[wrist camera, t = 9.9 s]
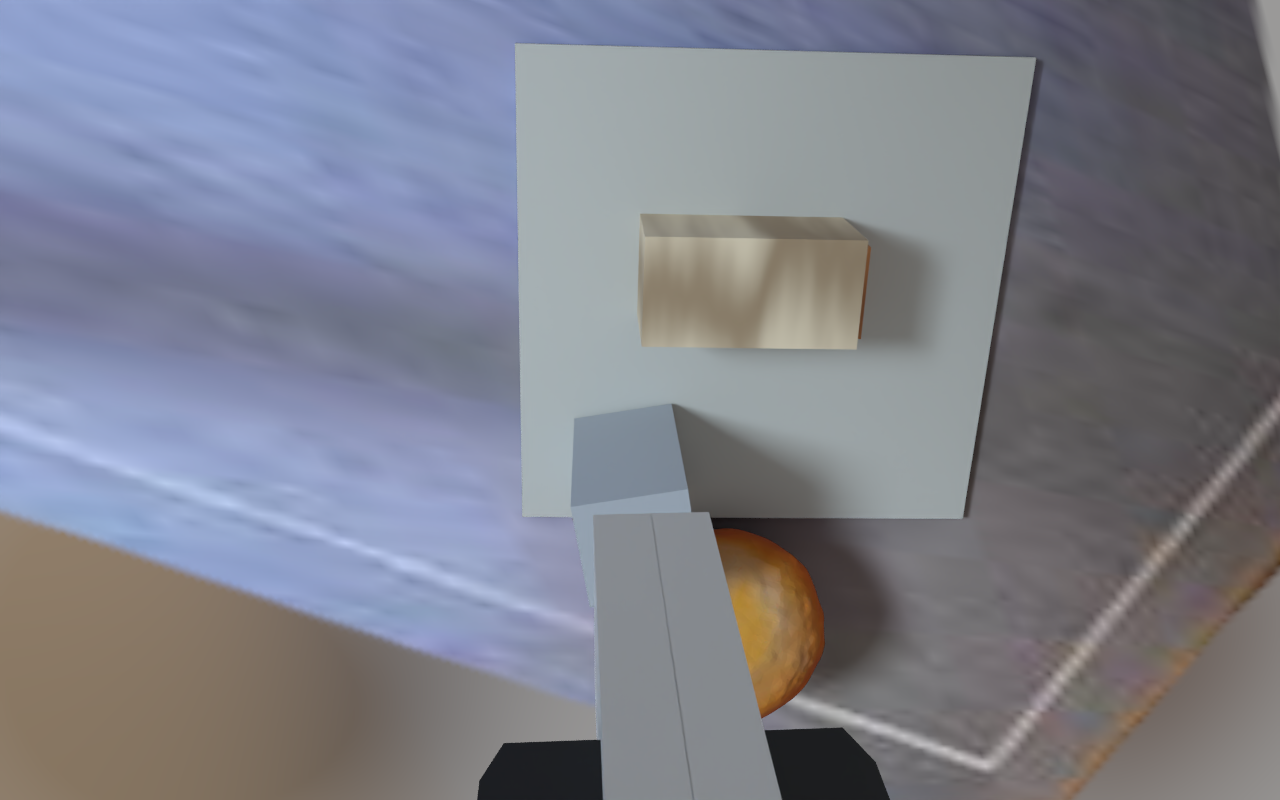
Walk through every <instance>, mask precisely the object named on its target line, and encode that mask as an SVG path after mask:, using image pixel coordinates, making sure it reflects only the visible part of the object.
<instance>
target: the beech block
mask: <svg viewBox="0 0 1280 800" xmlns="http://www.w3.org/2000/svg"><path fill="white" fill-rule="evenodd" d="M868 241H869V240H867V239H866V238H865V237H864V236H863V235H862V234H861V233H860V232H858V231H857V230H856V229H855V228H854V227H853V226H852V225H851V224H849V223H848V222H847V221H846V220H845V219H844V218H843V217H792V216H740V215H688V214H640V229H639V265H638V301H637V317H638V325H639V332H640V339H641V346H642V347H697V348H775V349H853V350H857V341H858V339H861V334H862V325H863V316H864V307H865V298H866V289H867V280H868V271H869V262H870V253H871V247H870V246H869V245H868Z"/></svg>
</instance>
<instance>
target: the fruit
mask: <svg viewBox="0 0 1280 800" xmlns="http://www.w3.org/2000/svg"><path fill="white" fill-rule="evenodd" d="M714 534H715V538H716V542H717V546H718V550H719V554H720V558H721V562H722V566H723V570H724V573H725V577H726V581H727V585H728V589H729V593H730V597H731V601H732V605H733V609H734V613H735V617H736V621H737V625H738V629H739V633H740V636H741V640H742V644H743V648H744V652H745V656H746V660H747V664H748V668H749V672H750V676H751V680H752V684H753V688H754V692H755V695H756V699H757V703H758V707H759V711H760V715H761V718H763V717H765V716H767V715H769V714H771V713H772V712H774V711H775V710H777V709H778V708H780V707H782V706H783V705H785V704H786V703H787V702H789V701H790V700H791V699H793V698H794V697H795V696H796V695H797V694H798V693H799V692H800V691H801V690H802V689H803V688H804V686H805V685H806V684H807V682H808V680H809V679H810V677H811V675H812V673H813V671H814V669H815V667H816V666H817V664H818V662H819V660H820V658H821V656H822V653H823V650H824V645H825V639H824V614H823V610H822V608H821V605H820V603H819V600H818V596H817V593H816V590H815V587H814V584H813V582H812V579H811V577H810V575H809V573H808V571H807V569H806V568H805V567H804V566H803V565H802V564H801V563H800V562H799V561H798V560H797V559H796V558H795V557H794V556H793V555H791V554H790V553H789V552H787V551H786V550H784V549H783V548H781V547H780V546H779V545H777V544H775V543H774V542H772V541H770V540H769V539H766V538H764V537H761V536H758V535H756V534H753V533H750V532H746V531H743V530H740V529H730V528H725V529H714Z"/></svg>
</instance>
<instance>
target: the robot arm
mask: <svg viewBox="0 0 1280 800" xmlns="http://www.w3.org/2000/svg"><path fill="white" fill-rule="evenodd" d="M593 552H594V640H595V701H596V730H597V740H581V741H580V740H579V741H554V742H553V741H552V742H527V743H526V742H525V743H504V744H503V745H502V747H501V749H500V750H499V752H498V753H497V755H496V756H495V758H494V759H493V761H492V762H491V764H490V765H489V767H488V768H487V770H486V772H485V773H484V775H483V776H482V778H481V779H480V781H479V790H478V799H477V800H890V799H889V796H888V793H887V791H886V788H885V786H884V783H883V780H882V778H881V775H880V773H879V770H878V767H877V765H876V762H875V761H874V760H873V759H872V758H871V757H870V756H869V755H868V754H867V753H866V752H865V751H864V750H863V749H862V747H861V746H860V745H859V744H858V743H857V742H856V741H855V740H854V739H853V738H852V737H851V736H850V735H849V734H848V733H847V732H846V731H845V730H844V729H843V728H819V729H792V730H764V727H763V723H762V719H761V715H760V711H759V707H758V703H757V699H756V695H755V692H754V688H753V684H752V680H751V676H750V672H749V668H748V664H747V660H746V656H745V652H744V648H743V644H742V640H741V636H740V633H739V629H738V625H737V621H736V617H735V613H734V609H733V605H732V601H731V597H730V593H729V589H728V585H727V581H726V577H725V573H724V570H723V566H722V562H721V558H720V554H719V550H718V546H717V542H716V538H715V534H714V530H713V526H712V522H711V518H710V514H709V512H688V513H645V514H603V515H593Z"/></svg>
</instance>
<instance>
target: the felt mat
mask: <svg viewBox="0 0 1280 800" xmlns="http://www.w3.org/2000/svg"><path fill="white" fill-rule="evenodd" d="M1035 63H1036V58H1034V57H1007V56H971V55H934V54H898V53H861V52H825V51H788V50H751V49H715V48H678V47H642V46H605V45H569V44H532V43H515V77H516V140H517V204H518V268H519V331H520V395H521V459H522V517H572V512H571V484H572V461H573V438H574V418H581V417H587V416H594V415H600V414H607V413H613V412H620V411H626V410H633V409H639V408H646V407H652V406H659V405H665V404H672V409H673V414H674V419H675V424H676V430H677V435H678V440H679V445H680V450H681V456H682V461H683V466H684V471H685V476H686V481H687V487H688V493H689V500H690V506H691V512H709V514H710V518H887V519H963V513H964V507H965V501H966V494H967V488H968V482H969V476H970V469H971V463H972V457H973V451H974V444H975V438H976V432H977V426H978V419H979V413H980V407H981V401H982V394H983V388H984V382H985V376H986V369H987V363H988V357H989V351H990V344H991V338H992V332H993V326H994V319H995V313H996V307H997V301H998V294H999V288H1000V282H1001V276H1002V269H1003V263H1004V257H1005V251H1006V244H1007V238H1008V232H1009V226H1010V219H1011V213H1012V207H1013V201H1014V194H1015V188H1016V182H1017V176H1018V169H1019V163H1020V157H1021V151H1022V144H1023V138H1024V132H1025V126H1026V119H1027V113H1028V107H1029V101H1030V94H1031V88H1032V82H1033V76H1034V69H1035ZM640 214H688V215H740V216H792V217H843V218H844V219H845V220H846V221H847V222H848V223H849V224H851V225H852V226H853V227H854V228H855V229H856V230H857V231H858V232H860V233H861V234H862V235H863V236H864V237H865V238H866V239H867V240H869V241H868V245H869V246H870V247H871V253H870V262H869V271H868V280H867V289H866V298H865V307H864V316H863V325H862V334H861V339H858V341H857V350H853V349H775V348H697V347H642V346H641V339H640V332H639V325H638V317H637V301H638V265H639V229H640Z"/></svg>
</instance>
